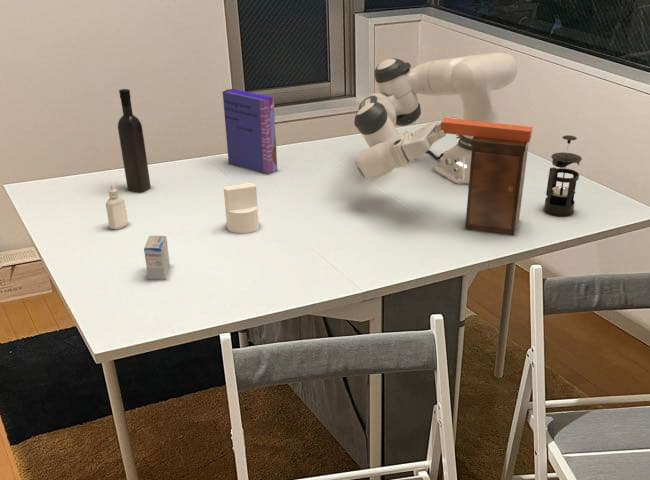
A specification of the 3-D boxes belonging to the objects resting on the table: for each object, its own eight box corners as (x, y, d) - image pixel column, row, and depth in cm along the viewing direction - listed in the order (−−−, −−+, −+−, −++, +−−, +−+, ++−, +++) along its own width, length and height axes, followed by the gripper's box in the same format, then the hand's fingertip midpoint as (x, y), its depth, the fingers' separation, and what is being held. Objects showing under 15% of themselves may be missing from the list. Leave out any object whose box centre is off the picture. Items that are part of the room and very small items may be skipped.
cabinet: (463, 230, 240) (470, 141, 225) (471, 214, 250) (478, 128, 235) (514, 237, 237) (525, 147, 222) (520, 220, 247) (530, 133, 232)
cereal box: (277, 170, 277) (273, 97, 263) (268, 174, 273) (263, 100, 260) (238, 160, 284) (232, 88, 270) (228, 163, 281) (222, 90, 267)
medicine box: (153, 266, 214) (148, 235, 209) (170, 266, 214) (166, 235, 209) (148, 280, 207) (143, 248, 202) (166, 279, 208) (161, 248, 203)
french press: (581, 215, 252) (593, 140, 239) (555, 219, 249) (567, 143, 236) (559, 202, 261) (570, 128, 248) (534, 205, 258) (544, 131, 245)
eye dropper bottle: (131, 227, 234) (124, 186, 227) (111, 230, 231) (104, 189, 225) (126, 221, 237) (119, 181, 230) (107, 225, 234) (99, 184, 228)
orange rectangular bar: (440, 132, 230) (441, 122, 229) (443, 128, 234) (444, 117, 232) (529, 142, 226) (530, 131, 224) (531, 137, 229) (532, 126, 228)
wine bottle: (126, 190, 257) (110, 91, 240) (137, 184, 262) (122, 86, 245) (141, 193, 256) (126, 93, 239) (152, 187, 260) (138, 89, 243)
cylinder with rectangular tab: (232, 235, 232) (229, 194, 225) (223, 223, 238) (219, 183, 231) (263, 230, 235) (260, 189, 228) (252, 219, 242) (249, 179, 235)
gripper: (418, 146, 247) (459, 127, 241) (402, 168, 231) (445, 148, 224) (409, 127, 244) (450, 107, 238) (392, 147, 228) (435, 127, 222)
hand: (448, 127), depth 231 cm, fingers open, 8 cm apart
